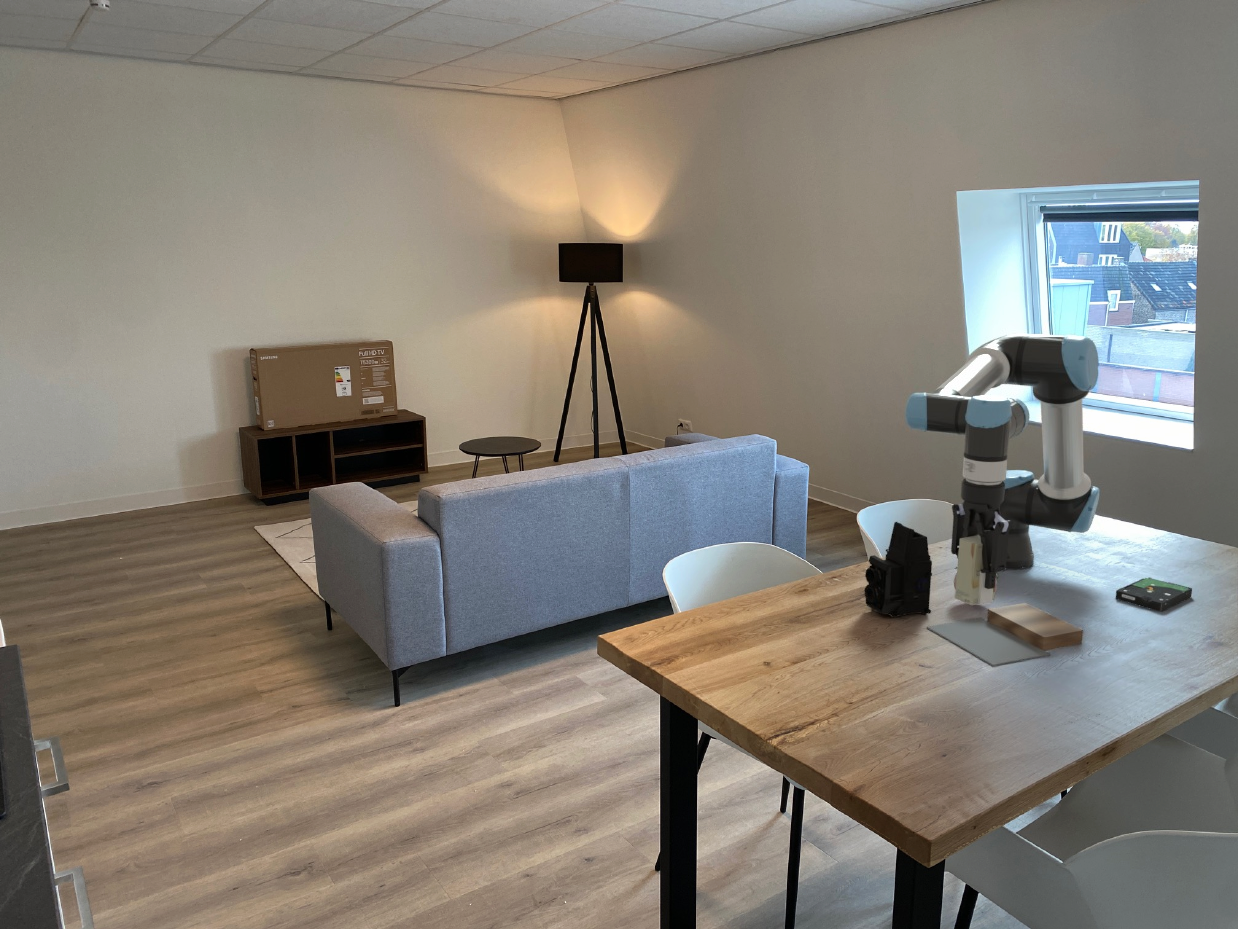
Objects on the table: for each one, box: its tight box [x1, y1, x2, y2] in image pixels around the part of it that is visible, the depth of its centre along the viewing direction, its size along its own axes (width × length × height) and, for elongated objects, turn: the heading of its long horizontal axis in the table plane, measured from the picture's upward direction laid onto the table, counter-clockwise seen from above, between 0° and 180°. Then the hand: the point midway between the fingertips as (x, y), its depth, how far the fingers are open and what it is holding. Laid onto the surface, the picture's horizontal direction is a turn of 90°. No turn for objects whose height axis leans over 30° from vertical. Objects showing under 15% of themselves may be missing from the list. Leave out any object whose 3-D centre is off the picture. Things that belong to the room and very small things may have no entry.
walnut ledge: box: [986, 602, 1084, 652], centre depth 195 cm, size 16×10×3 cm, turn 19°
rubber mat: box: [926, 617, 1051, 667], centre depth 191 cm, size 20×14×1 cm
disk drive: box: [1115, 577, 1193, 613], centre depth 213 cm, size 10×3×15 cm
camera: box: [864, 521, 933, 618], centre depth 205 cm, size 10×14×20 cm
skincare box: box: [954, 535, 996, 606], centre depth 176 cm, size 6×4×12 cm
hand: (974, 597), depth 178 cm, fingers closed on skincare box, 5 cm apart
